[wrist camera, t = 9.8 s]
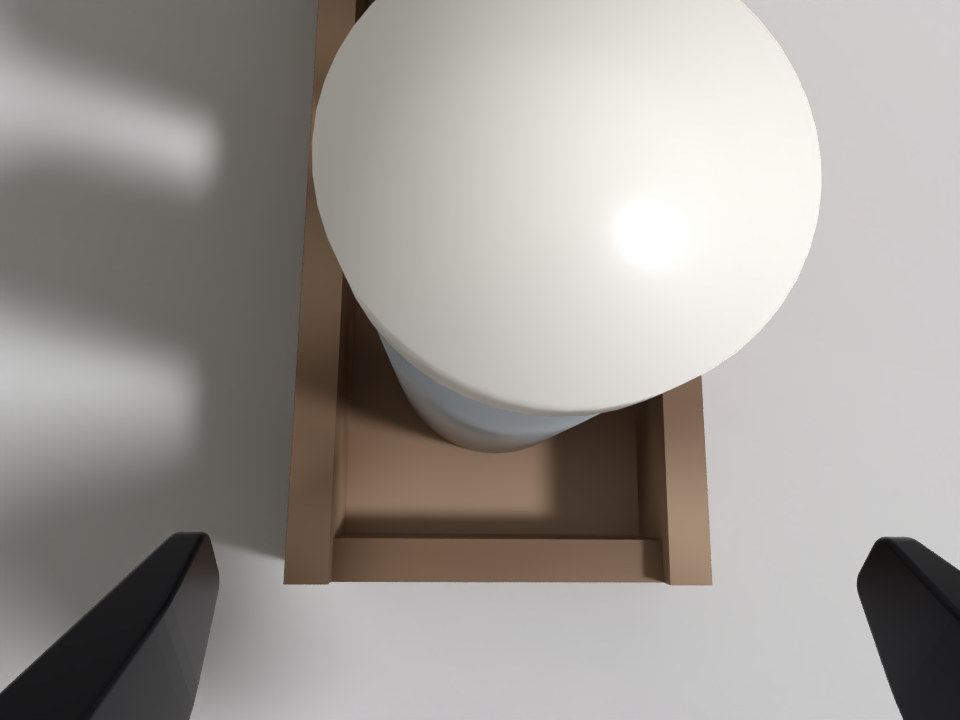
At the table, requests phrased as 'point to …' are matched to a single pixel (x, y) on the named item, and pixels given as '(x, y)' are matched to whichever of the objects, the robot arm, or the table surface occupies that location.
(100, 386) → the table surface
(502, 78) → the grey jar
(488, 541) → the pusher lane
